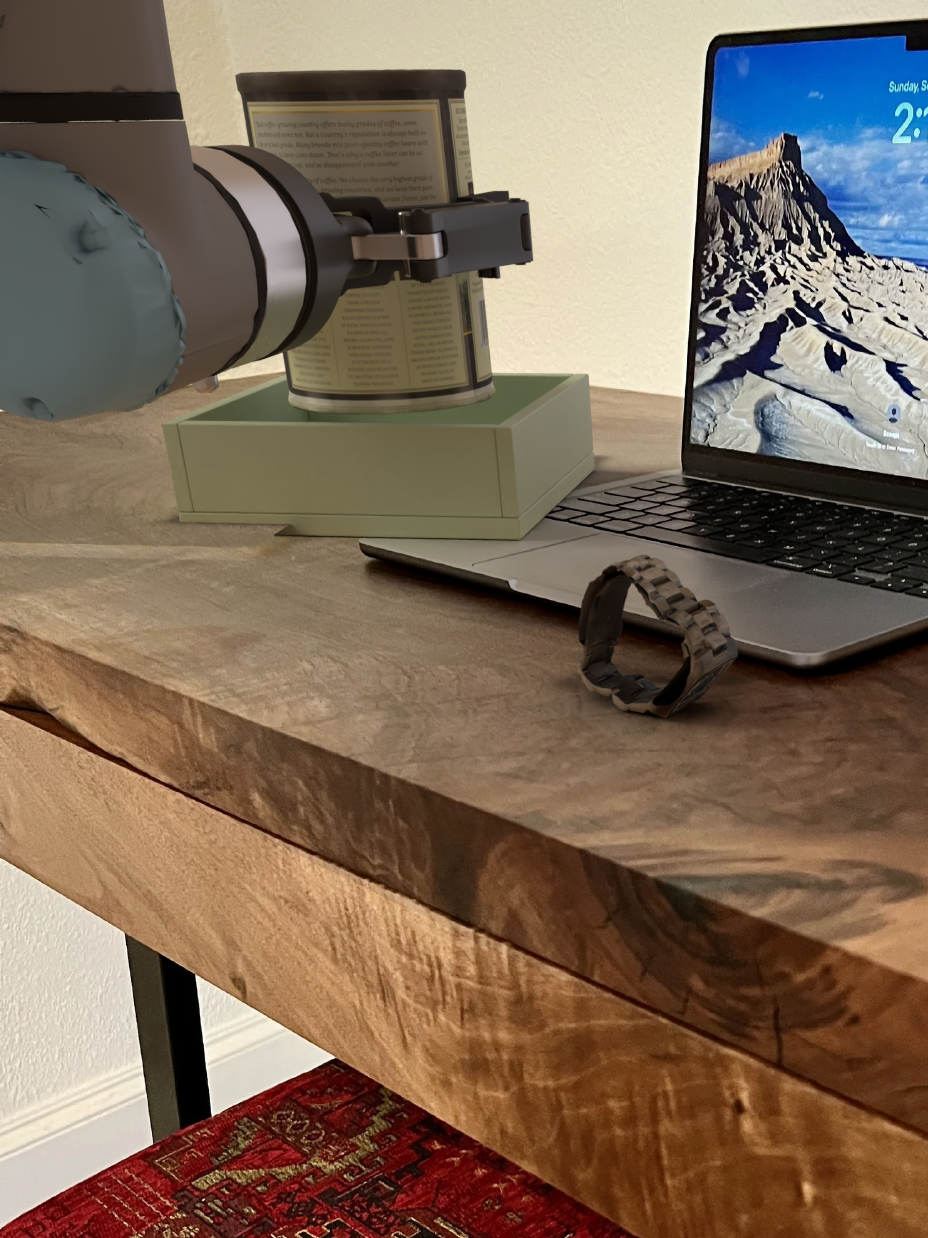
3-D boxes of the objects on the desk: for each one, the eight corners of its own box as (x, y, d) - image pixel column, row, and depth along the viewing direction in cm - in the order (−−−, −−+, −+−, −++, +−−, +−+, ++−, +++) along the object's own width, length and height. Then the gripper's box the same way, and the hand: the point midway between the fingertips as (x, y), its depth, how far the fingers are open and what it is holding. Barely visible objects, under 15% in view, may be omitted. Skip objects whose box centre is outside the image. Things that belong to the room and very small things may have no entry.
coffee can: (260, 395, 82) (207, 73, 75) (449, 378, 86) (416, 73, 79) (326, 423, 74) (274, 67, 67) (530, 402, 79) (501, 67, 72)
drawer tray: (181, 533, 76) (160, 423, 74) (307, 465, 91) (293, 370, 88) (521, 540, 75) (511, 427, 72) (595, 469, 89) (588, 373, 87)
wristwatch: (628, 756, 54) (711, 663, 51) (543, 634, 54) (620, 534, 51) (684, 740, 56) (767, 649, 53) (602, 623, 57) (680, 526, 53)
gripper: (-37, 364, 64) (197, 304, 83) (515, 366, 62) (625, 304, 81) (-91, 149, 60) (168, 138, 79) (495, 143, 58) (616, 133, 77)
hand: (399, 222), depth 80 cm, fingers closed on coffee can, 10 cm apart
